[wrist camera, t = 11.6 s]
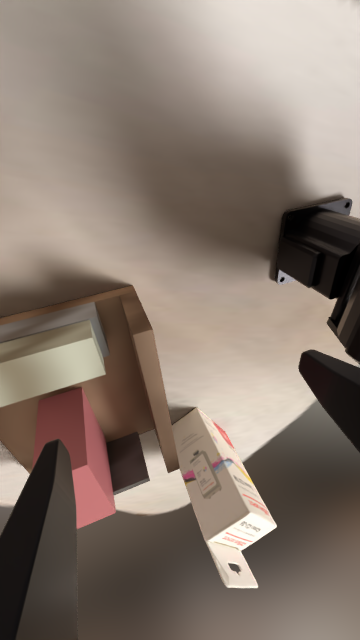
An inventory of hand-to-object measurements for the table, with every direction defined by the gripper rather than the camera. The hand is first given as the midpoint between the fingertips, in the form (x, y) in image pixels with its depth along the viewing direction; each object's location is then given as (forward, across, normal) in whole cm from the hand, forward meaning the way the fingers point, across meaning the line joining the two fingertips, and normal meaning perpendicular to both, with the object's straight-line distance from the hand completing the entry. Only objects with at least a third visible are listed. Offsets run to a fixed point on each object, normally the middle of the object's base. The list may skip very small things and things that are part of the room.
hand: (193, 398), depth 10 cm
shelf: (+13, +7, +10) cm, 18 cm away
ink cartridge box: (+13, -4, +24) cm, 28 cm away
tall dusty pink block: (+12, +8, +14) cm, 20 cm away
